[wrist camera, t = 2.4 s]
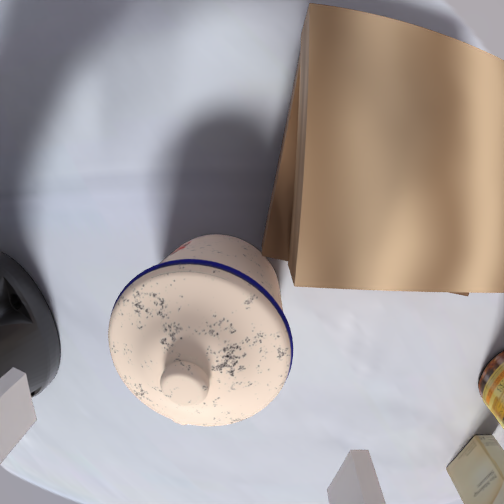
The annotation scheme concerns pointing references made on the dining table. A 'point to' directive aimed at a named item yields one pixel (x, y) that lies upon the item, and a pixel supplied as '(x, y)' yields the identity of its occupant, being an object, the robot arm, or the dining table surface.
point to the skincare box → (479, 471)
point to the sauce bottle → (494, 387)
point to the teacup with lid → (203, 333)
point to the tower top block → (396, 158)
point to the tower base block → (286, 187)
